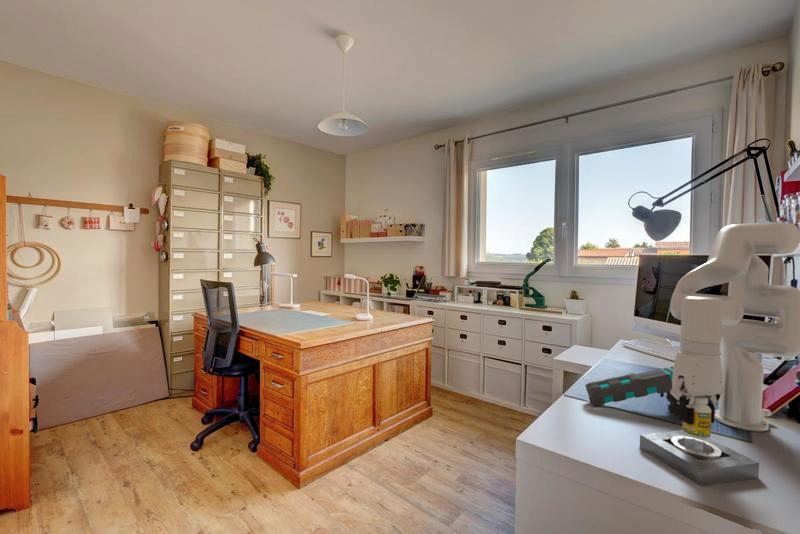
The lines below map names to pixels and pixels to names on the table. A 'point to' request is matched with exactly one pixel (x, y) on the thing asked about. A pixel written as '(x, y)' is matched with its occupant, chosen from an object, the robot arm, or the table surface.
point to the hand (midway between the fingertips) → (696, 420)
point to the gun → (634, 388)
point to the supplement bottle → (699, 419)
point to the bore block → (699, 458)
